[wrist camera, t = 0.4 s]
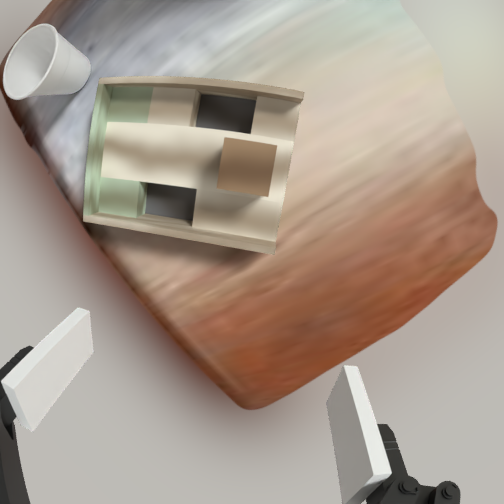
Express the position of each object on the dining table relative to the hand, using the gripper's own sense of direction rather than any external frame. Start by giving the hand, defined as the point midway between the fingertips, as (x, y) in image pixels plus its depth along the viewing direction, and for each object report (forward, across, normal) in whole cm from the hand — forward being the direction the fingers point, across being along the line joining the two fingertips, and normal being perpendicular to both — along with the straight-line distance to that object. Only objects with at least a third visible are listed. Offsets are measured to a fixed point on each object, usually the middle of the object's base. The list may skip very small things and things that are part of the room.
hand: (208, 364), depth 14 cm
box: (+25, -8, +8) cm, 28 cm away
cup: (+26, -29, +19) cm, 43 cm away
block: (+22, -1, +9) cm, 24 cm away
